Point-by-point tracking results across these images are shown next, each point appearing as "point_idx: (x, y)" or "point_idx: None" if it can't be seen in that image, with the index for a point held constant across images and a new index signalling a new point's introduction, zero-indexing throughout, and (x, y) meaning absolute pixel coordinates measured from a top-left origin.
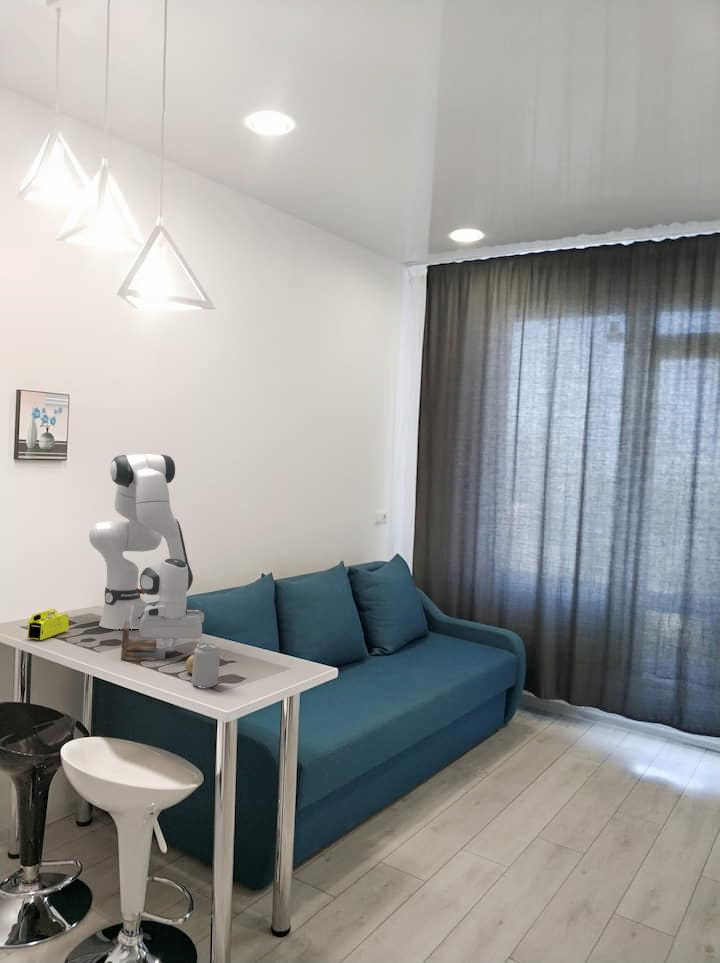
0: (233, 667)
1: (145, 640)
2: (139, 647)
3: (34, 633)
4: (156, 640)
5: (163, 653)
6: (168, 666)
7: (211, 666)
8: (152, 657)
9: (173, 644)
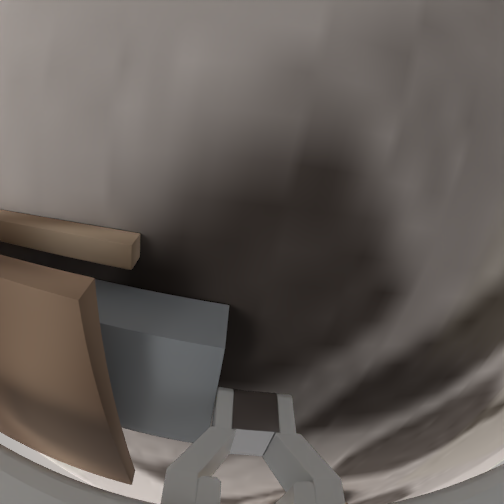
0: (450, 454)
1: None
2: (28, 444)
3: None
4: (80, 330)
5: (192, 436)
6: (216, 471)
7: None
8: None
9: (279, 475)
